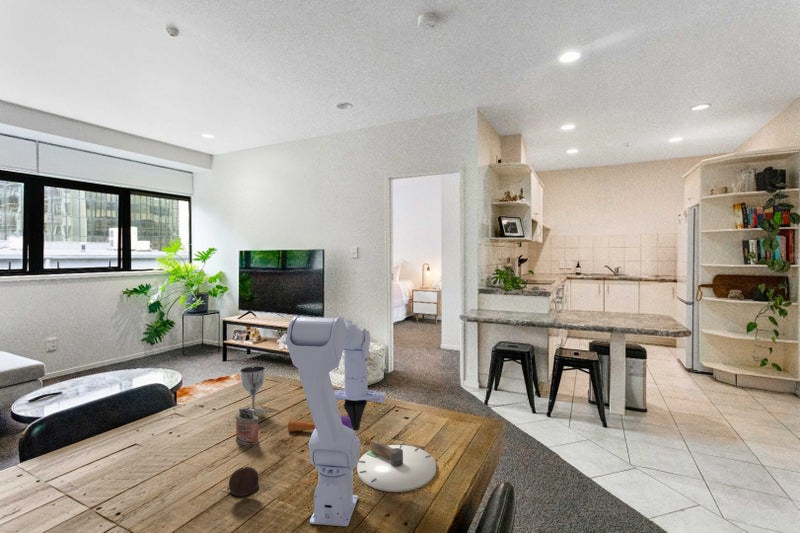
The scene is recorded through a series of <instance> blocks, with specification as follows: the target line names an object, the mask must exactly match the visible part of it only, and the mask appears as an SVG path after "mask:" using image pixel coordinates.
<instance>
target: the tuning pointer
mask: <svg viewBox="0 0 800 533" xmlns="http://www.w3.org/2000/svg"><path fill="white" fill-rule="evenodd" d="M369 443H370V447H369V448H370V449H369V451H371V452H373V453H375V454H378V455H380V456H382V457H384V458H386V459H388V460H390V464H391V465H392V466H401V465H402V464H403V450H402V449H399V448H394V449H393V448H391V447H389V446H388V445H387V444H383V443H382V442H380V441H378V440H376V439H372V440H370V441H369Z"/></svg>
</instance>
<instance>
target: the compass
mask: <svg viewBox="0 0 800 533" xmlns="http://www.w3.org/2000/svg"><path fill="white" fill-rule="evenodd" d="M225 488H227V489H226V490H223V489H225ZM258 488H259V473H258V471H257V470H256V468H253V467H251V466H246V465H243V467H240V468H238V469H236V470H235V471H234V472H233V473H232V474H231V475H230V476H229V480H228V486H227V487H226V486H224V487H222V488H221V490H220V491H221V492H223V493H225V492H228V491H229V490H230V491H229V493H230V494H231V495H232V496H235V497H243V496H244V497H245V496H247V495H250V494H253V493H254V492H255V491H257V489H258Z"/></svg>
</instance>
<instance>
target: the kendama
mask: <svg viewBox="0 0 800 533" xmlns="http://www.w3.org/2000/svg"><path fill="white" fill-rule="evenodd" d="M340 417H341V421H342V424H343V425H345V426H347V427H348V428H350V429H352V430H353V428H352V423H351V420H350V417H349V416H347V415H340ZM315 428H316V427H315V424H314V422H307V421H306V422H305V421H297V420H289V421H288V424H287V431H288V432H289V433H292V432H301V431H309V430H314V429H315Z"/></svg>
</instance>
